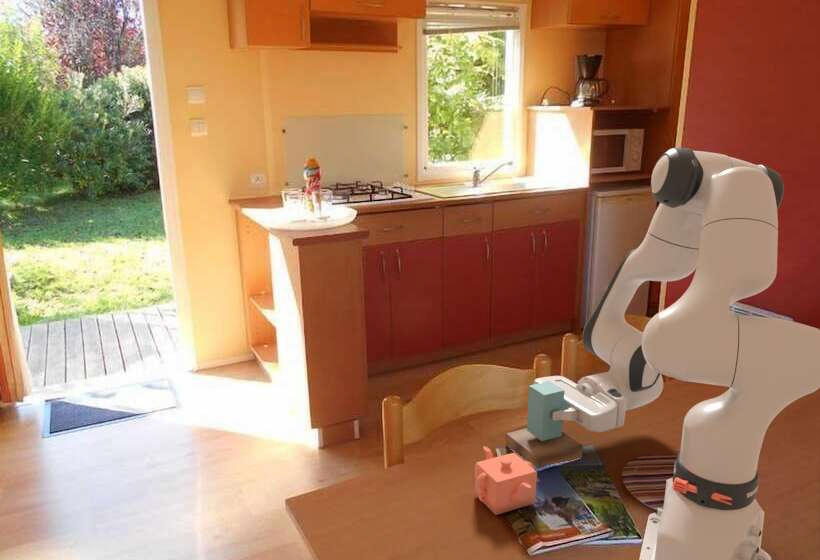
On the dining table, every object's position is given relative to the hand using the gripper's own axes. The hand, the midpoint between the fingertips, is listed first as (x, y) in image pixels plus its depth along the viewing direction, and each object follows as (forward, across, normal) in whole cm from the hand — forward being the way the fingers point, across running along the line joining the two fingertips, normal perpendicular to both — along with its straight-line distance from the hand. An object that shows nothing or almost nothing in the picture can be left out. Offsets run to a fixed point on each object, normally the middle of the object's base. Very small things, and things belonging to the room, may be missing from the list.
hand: (541, 409), depth 130 cm
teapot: (+16, +11, +10) cm, 22 cm away
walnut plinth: (-1, 0, +10) cm, 10 cm away
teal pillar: (-1, 0, +6) cm, 6 cm away
